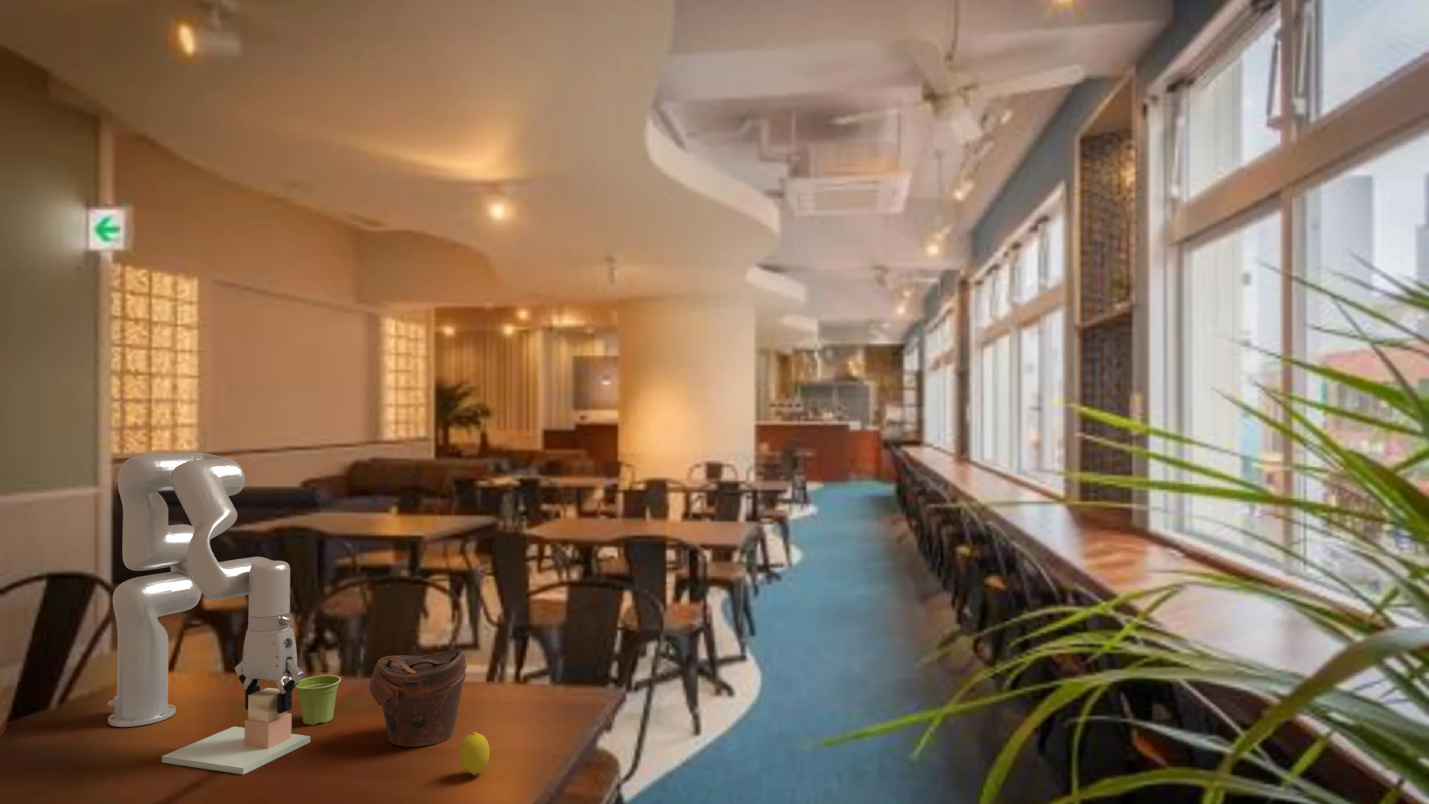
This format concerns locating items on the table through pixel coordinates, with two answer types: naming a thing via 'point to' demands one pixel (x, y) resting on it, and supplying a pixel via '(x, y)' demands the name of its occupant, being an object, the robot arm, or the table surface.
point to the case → (419, 696)
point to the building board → (231, 752)
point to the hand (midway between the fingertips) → (268, 709)
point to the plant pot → (317, 698)
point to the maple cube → (264, 705)
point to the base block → (267, 732)
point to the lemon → (474, 753)
